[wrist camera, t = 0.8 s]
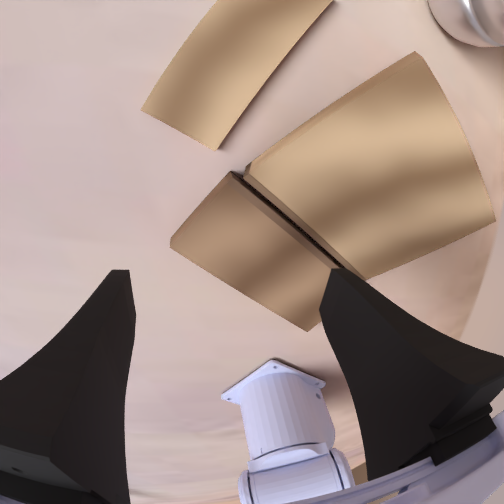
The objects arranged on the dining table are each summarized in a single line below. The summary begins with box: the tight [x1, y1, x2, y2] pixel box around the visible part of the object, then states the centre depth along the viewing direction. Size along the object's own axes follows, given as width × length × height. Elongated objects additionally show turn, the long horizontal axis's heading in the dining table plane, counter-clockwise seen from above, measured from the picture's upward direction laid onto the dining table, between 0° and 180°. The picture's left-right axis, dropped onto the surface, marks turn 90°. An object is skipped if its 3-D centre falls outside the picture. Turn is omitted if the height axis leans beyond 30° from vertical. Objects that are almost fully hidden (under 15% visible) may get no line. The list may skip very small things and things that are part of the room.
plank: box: [141, 0, 332, 151], centre depth 15 cm, size 5×12×1 cm, turn 145°
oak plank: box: [243, 51, 496, 281], centre depth 18 cm, size 13×12×1 cm
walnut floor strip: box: [170, 171, 343, 332], centre depth 22 cm, size 14×6×1 cm, turn 46°
